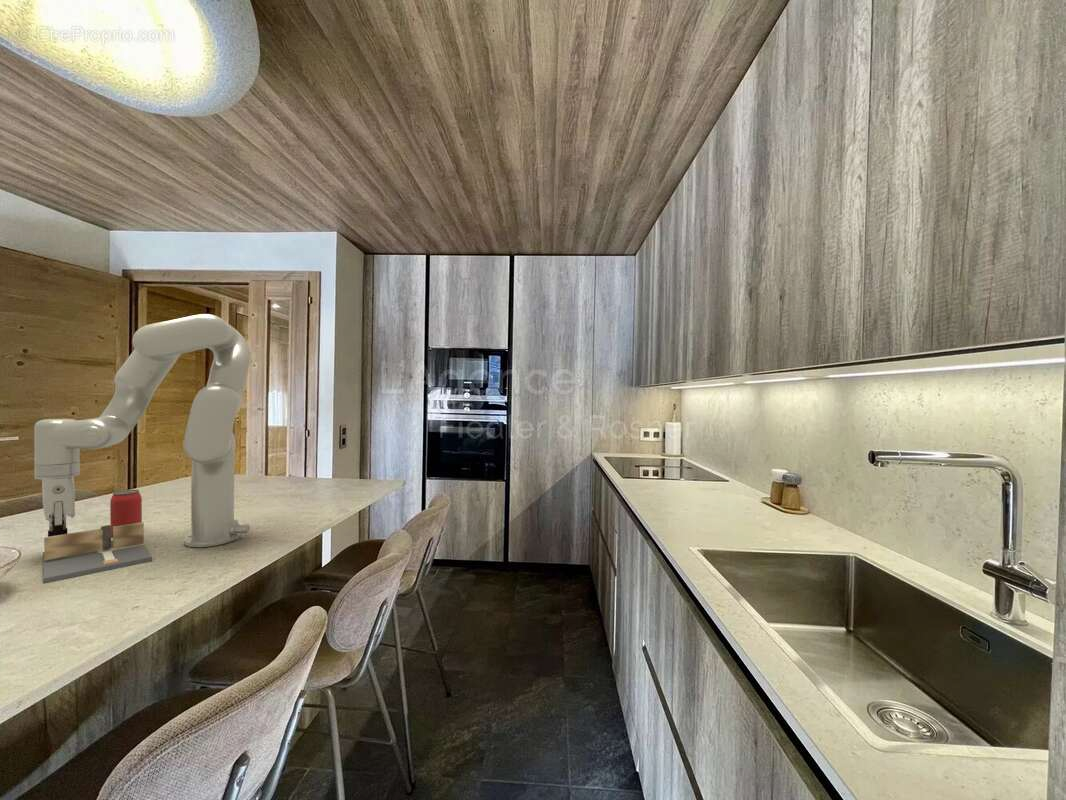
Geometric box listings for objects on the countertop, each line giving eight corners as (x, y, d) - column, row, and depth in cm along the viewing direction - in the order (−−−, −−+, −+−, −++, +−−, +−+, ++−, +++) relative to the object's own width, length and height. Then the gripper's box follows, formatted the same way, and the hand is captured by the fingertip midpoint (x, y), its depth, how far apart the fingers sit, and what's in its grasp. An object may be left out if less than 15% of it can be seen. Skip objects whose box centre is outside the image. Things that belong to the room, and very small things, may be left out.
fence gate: (110, 546, 113) (110, 524, 113) (111, 548, 111) (111, 526, 111) (44, 558, 104) (44, 534, 104) (44, 560, 103) (44, 536, 103)
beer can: (127, 538, 124) (127, 494, 123) (103, 537, 124) (103, 494, 124) (148, 530, 130) (148, 489, 130) (125, 530, 130) (125, 488, 130)
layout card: (138, 539, 123) (138, 535, 123) (152, 560, 108) (151, 556, 108) (43, 556, 110) (42, 551, 110) (43, 583, 95) (43, 577, 95)
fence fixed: (143, 543, 117) (142, 522, 117) (143, 544, 116) (143, 522, 116) (113, 548, 113) (112, 526, 113) (113, 549, 112) (113, 527, 112)
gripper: (81, 472, 107) (81, 550, 107) (77, 464, 117) (77, 535, 117) (34, 476, 101) (34, 558, 101) (34, 468, 111) (34, 542, 111)
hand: (57, 546), depth 109 cm, fingers closed
